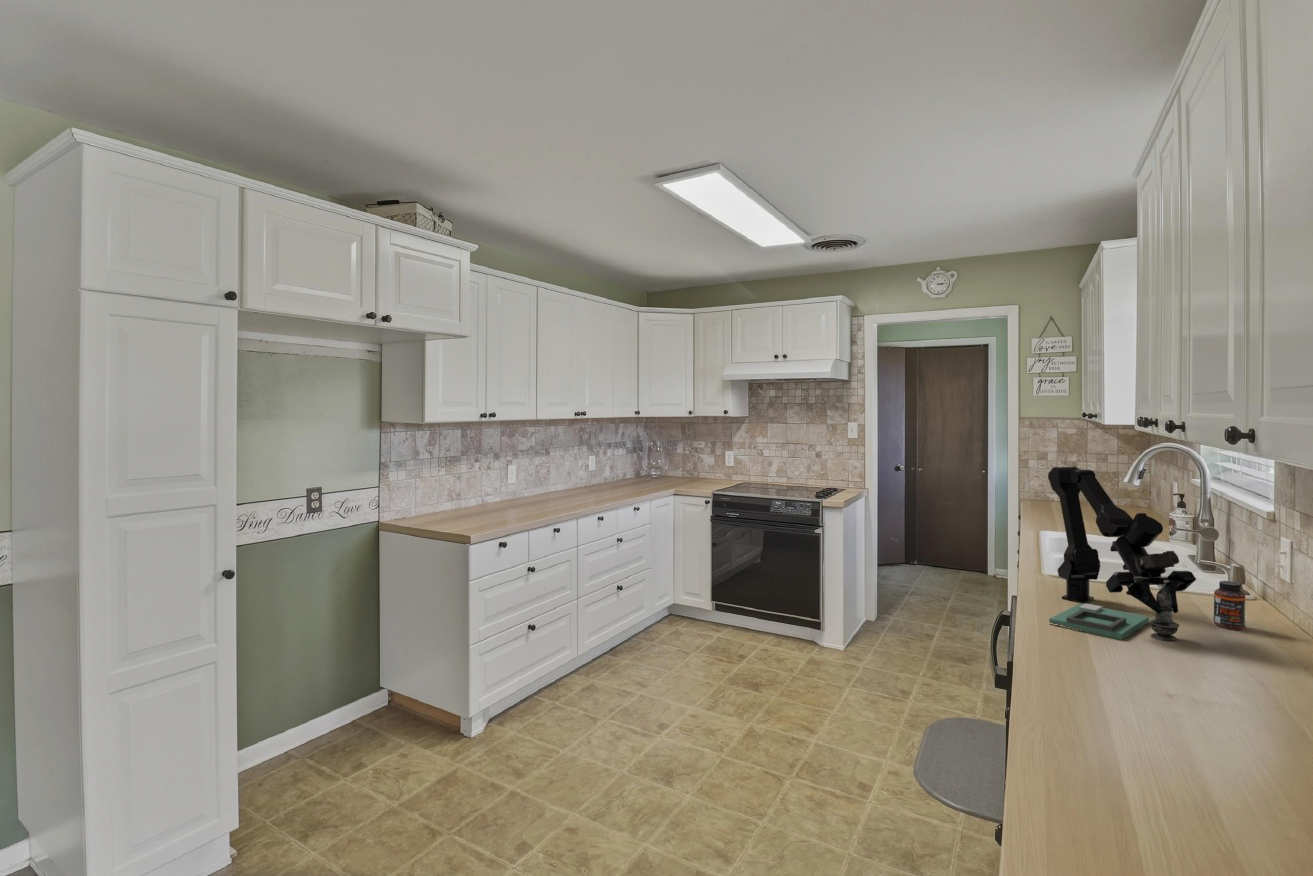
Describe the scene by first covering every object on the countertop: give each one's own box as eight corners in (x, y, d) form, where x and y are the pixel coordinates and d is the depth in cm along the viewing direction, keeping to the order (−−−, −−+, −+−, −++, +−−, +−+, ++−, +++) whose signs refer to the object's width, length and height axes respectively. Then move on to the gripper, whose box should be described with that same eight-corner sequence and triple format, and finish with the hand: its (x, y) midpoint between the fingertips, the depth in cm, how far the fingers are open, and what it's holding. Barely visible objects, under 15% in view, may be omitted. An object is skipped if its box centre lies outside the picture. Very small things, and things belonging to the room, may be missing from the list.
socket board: (1079, 608, 180) (1079, 599, 180) (1149, 622, 168) (1148, 612, 168) (1049, 624, 168) (1049, 614, 168) (1121, 640, 156) (1121, 629, 155)
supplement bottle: (1217, 629, 161) (1217, 584, 161) (1210, 622, 167) (1210, 578, 166) (1249, 632, 159) (1248, 586, 158) (1240, 624, 164) (1240, 580, 163)
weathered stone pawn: (1168, 633, 159) (1168, 585, 158) (1185, 642, 153) (1185, 592, 153) (1143, 633, 159) (1142, 585, 159) (1159, 642, 154) (1159, 592, 153)
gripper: (1113, 540, 160) (1145, 596, 149) (1190, 538, 159) (1228, 595, 148) (1092, 564, 168) (1122, 619, 157) (1165, 562, 167) (1200, 618, 157)
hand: (1168, 612), depth 155 cm, fingers closed on weathered stone pawn, 3 cm apart
